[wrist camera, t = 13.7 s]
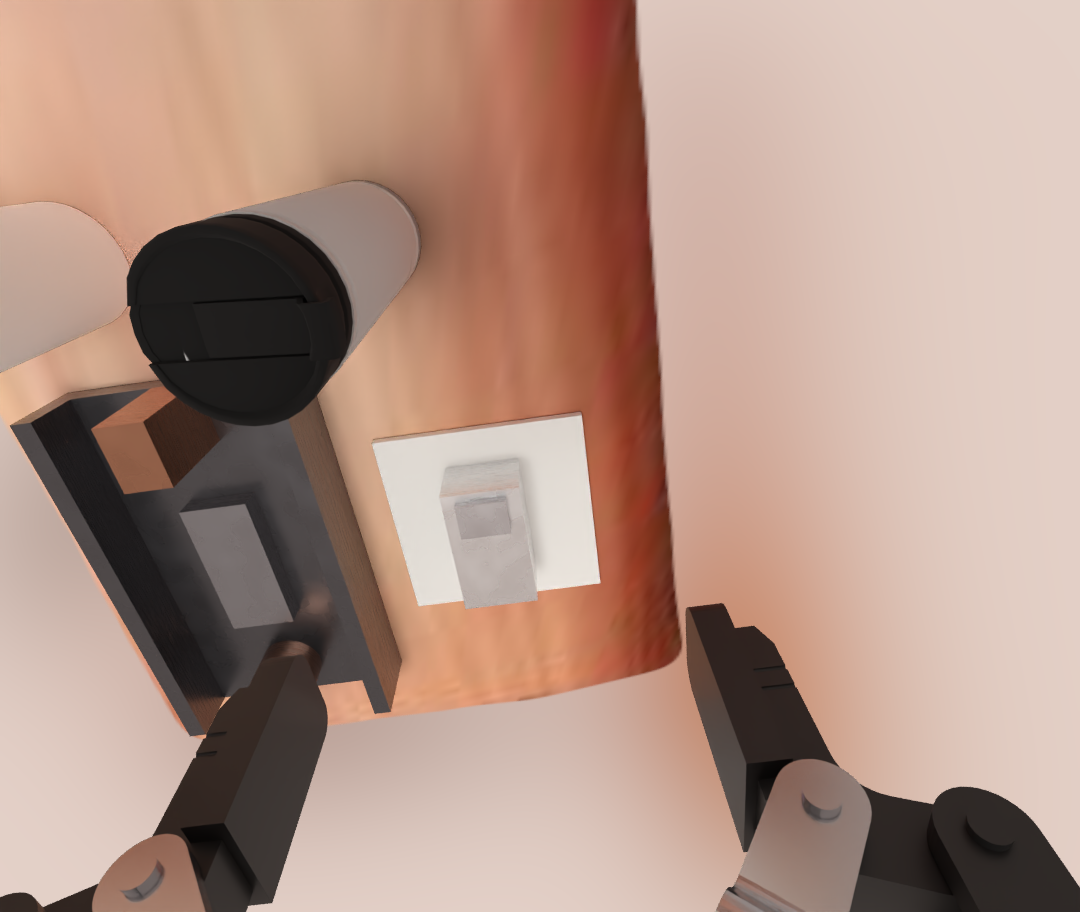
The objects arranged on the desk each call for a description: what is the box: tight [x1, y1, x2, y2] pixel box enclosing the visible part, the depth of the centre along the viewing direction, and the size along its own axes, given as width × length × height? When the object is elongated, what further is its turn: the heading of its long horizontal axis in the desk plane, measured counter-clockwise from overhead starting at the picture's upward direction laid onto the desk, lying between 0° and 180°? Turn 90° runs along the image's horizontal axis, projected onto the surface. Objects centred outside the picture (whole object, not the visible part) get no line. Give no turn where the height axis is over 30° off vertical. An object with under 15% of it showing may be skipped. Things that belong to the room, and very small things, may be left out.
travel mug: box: [126, 180, 421, 426], centre depth 27 cm, size 6×7×20 cm
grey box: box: [439, 458, 538, 609], centre depth 42 cm, size 9×5×5 cm, turn 7°
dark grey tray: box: [10, 380, 402, 736], centre depth 42 cm, size 26×15×8 cm, turn 8°
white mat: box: [372, 412, 600, 606], centre depth 44 cm, size 14×14×1 cm
